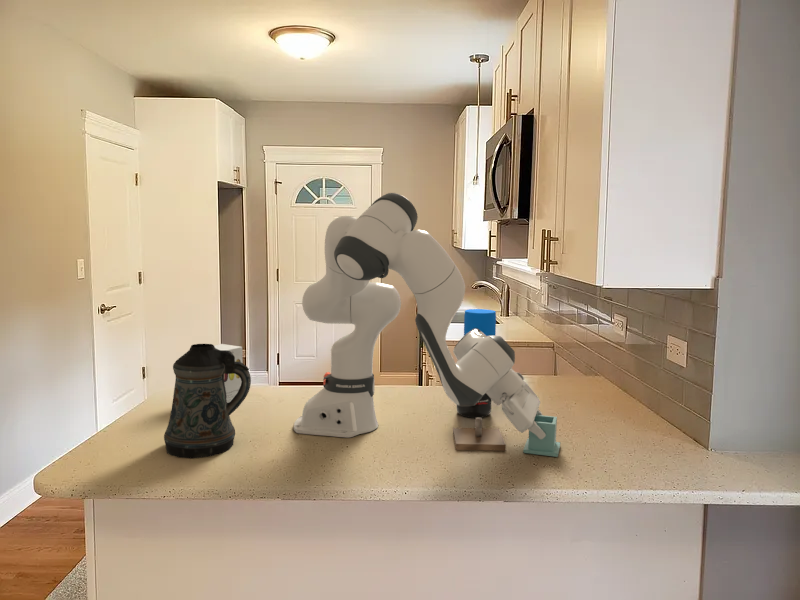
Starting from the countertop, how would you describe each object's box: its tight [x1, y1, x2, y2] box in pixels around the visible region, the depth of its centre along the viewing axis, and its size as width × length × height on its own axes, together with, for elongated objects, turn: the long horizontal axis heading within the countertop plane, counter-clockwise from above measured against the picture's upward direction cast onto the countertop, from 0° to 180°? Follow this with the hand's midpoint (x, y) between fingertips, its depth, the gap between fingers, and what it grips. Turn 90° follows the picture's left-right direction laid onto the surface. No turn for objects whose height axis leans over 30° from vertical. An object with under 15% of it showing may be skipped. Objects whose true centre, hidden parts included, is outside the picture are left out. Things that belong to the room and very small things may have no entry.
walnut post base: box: [452, 417, 507, 452], centre depth 153 cm, size 12×12×6 cm
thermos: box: [463, 308, 497, 336], centre depth 211 cm, size 11×11×25 cm
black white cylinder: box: [456, 328, 492, 419], centre depth 175 cm, size 10×10×25 cm
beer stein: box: [163, 343, 252, 459], centre depth 148 cm, size 16×19×25 cm
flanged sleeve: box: [522, 414, 561, 458], centre depth 148 cm, size 8×8×8 cm
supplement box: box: [214, 343, 244, 403], centre depth 185 cm, size 10×9×17 cm
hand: (545, 431), depth 148 cm, fingers closed on flanged sleeve, 6 cm apart
